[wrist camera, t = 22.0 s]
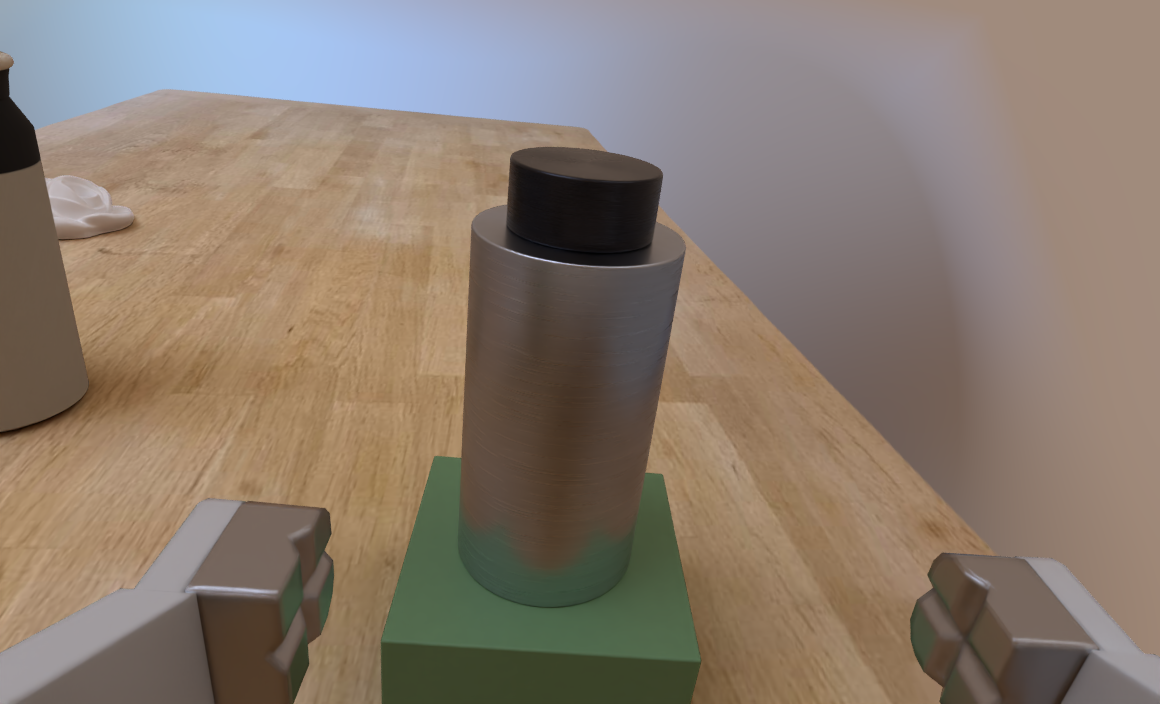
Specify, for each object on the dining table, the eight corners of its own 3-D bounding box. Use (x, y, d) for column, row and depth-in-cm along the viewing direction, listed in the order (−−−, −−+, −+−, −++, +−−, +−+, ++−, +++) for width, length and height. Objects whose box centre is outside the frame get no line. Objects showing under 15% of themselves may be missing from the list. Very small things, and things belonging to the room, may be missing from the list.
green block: (646, 560, 34) (663, 473, 31) (675, 764, 25) (702, 661, 22) (432, 545, 33) (434, 455, 31) (382, 748, 24) (380, 641, 22)
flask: (624, 496, 30) (681, 153, 24) (637, 614, 24) (717, 202, 18) (469, 483, 29) (487, 131, 23) (444, 600, 24) (459, 174, 17)
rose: (13, 162, 66) (135, 164, 70) (24, 209, 68) (142, 209, 71) (-21, 189, 58) (119, 191, 61) (-7, 242, 60) (128, 241, 63)
